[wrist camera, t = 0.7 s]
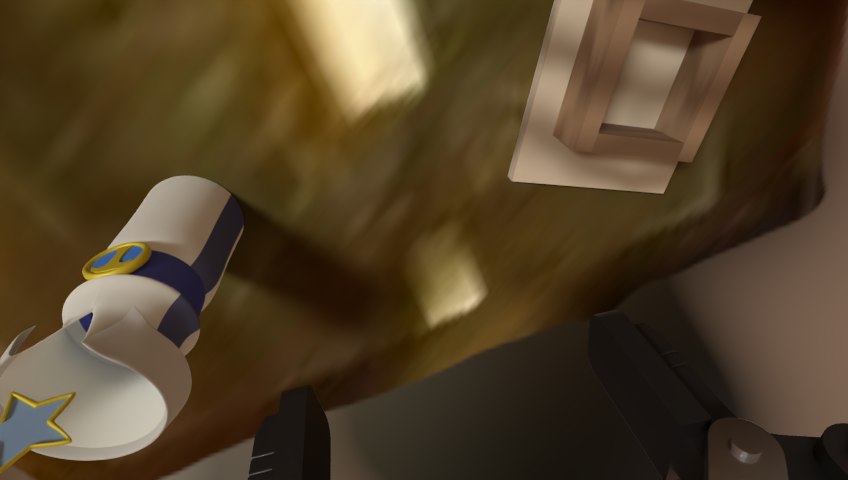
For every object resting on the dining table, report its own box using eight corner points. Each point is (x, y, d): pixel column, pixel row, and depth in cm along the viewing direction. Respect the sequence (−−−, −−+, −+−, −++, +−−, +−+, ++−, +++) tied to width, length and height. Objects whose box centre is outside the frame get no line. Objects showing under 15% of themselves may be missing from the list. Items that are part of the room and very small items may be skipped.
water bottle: (113, 183, 34) (-247, 519, 13) (224, 161, 35) (54, 447, 13) (162, 267, 38) (-47, 621, 17) (259, 247, 39) (173, 563, 18)
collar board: (579, -93, 30) (621, -106, 26) (762, -48, 34) (826, -52, 29) (507, 176, 40) (529, 200, 35) (655, 188, 43) (692, 212, 39)
